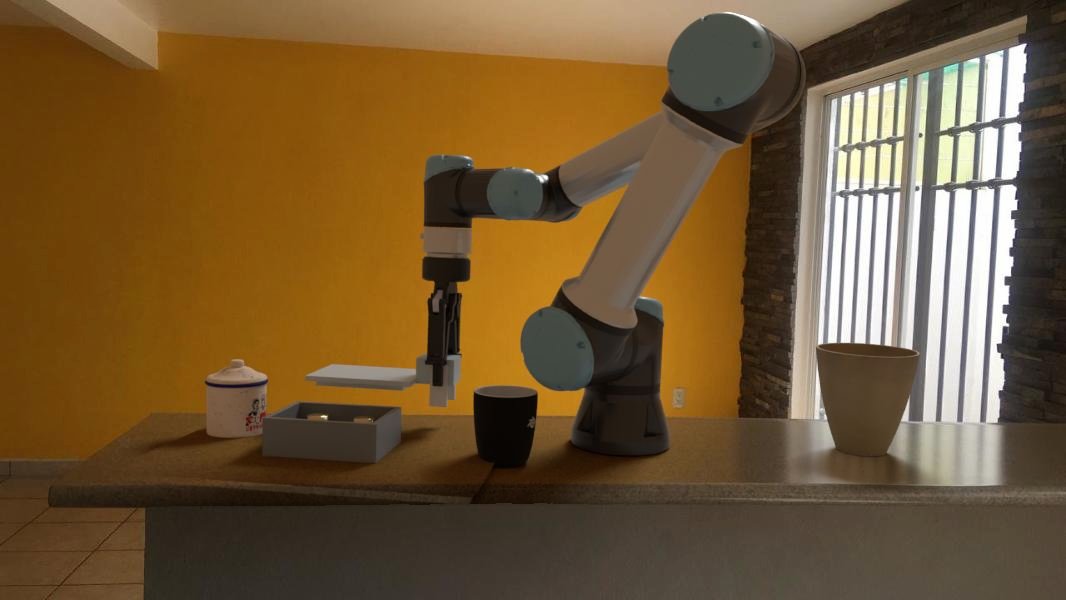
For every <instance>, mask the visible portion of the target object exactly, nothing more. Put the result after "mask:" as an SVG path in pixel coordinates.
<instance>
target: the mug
mask: <svg viewBox="0 0 1066 600" xmlns="http://www.w3.org/2000/svg"><path fill="white" fill-rule="evenodd" d="M472 397H473V401H472V403H473V408H472V409H473V410H472V411H473V423H474V424H473V428H474V438H475V445H476V450H477V454H478V457H479V459H480V460H483V461H485V462H488V463H493V465H492V468H497V467H498V468H497V469H499V468H500V469H502V468H503V469H510V468H512V469H513V468H518V467H522V466H524V465H526V464H527V462H528V460H529V459H530V455H531V452H532V447H533V444H534V439H535V438H534V437H535V432H536V426H537V425H536V424H537V415H538V399H539V394H538V391H537V390H536V389H534V388H531V387H527V386H520V385H512V384H511V385H508V384H507V385H505V384H502V385H500V384H499V385H498V384H497V385H494V384H493V385H485V386H479V387H476V388H475V389H474V390H473V396H472Z"/></svg>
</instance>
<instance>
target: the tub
mask: <svg viewBox="0 0 1066 600" xmlns="http://www.w3.org/2000/svg"><path fill="white" fill-rule="evenodd" d="M315 413H322V414H327V415H328V420H312V419H307V415H309V414H315ZM358 416H371V417H374V418H375V422H374V423H362V422H354V418H355V417H358ZM261 435H262V437H261V440H262V441H261V443H262V444H261V445H262V447H261V449H262V451H261V456H262V457H272V458H274V457H275V458H289V459H304V460H305V459H306V460H318V461H319V460H320V461H334V462H348V463H351V462H352V463H363V464H364V463H365V464H377V463H379V461H380V460H382V459H383V458H384V457H386V456H387V454H389V453H391V451H393V449H395V448H396V447H397V446H399V444H401V442H402V406H389V405H374V404H373V405H372V404H371V405H370V404H355V403H339V402H337V403H335V402H324V401H323V402H319V401H305V400H303V401H301V400H297V401H294V402H292V403H290V404H288V405H286V406H285V407H282V408H281V409H278V410H276V411H274V412H272V413H270V414H268V415H267V416H265V417H263V418H262V434H261Z"/></svg>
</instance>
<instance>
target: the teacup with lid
mask: <svg viewBox="0 0 1066 600" xmlns="http://www.w3.org/2000/svg"><path fill="white" fill-rule="evenodd" d="M229 365H230V366H225V367H223V368H222V369H220V370H219V371H218V372H214V373H211V374H208V376H206V378H205V380H204V384H205V385H206V434H207V435H208V436H210V437H215V438H223V439H224V438H226V439H227V438H228V439H229V438H230V439H232V438H234V439H235V438H247V437H253V436H258V435H262V418H263V417H265V416H267V410H268V409H267V408H268V407H267V405H268V404H267V401H268V400H267V399H268V398H267V396H268V395H267V393H268V392H267V391H268V390H267V389H268V388H267V386H268V385H267V384H268V383H269V379H268V376H267V375H266V374H265V373H262V372H258V371H256V370H254V369H253V368H251V367H249V366H246V365H245V361H244V359H238V358H237V359H231V360H230V361H229Z"/></svg>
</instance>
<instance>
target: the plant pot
mask: <svg viewBox="0 0 1066 600" xmlns="http://www.w3.org/2000/svg"><path fill="white" fill-rule="evenodd" d="M815 353H816V363H817V364H816V366H817V371H818V383H819V389H820V392H821V393H820V394H821V399H822V403H823V404H822V405H823V408H824V412H825V416H826V419H827V420H826V421H827V423H828V424H827V425H828V428H829V431H830V434H831V436H832V440H833V443H834V446H835V448H836V450H837V451H839V452H842V453H845V454H848V455H853V456H860V457H881V456H884V455H886V454H887V453H888V450H889V448H890V446H891V445H892V442H893V440H894V439H895V436H896V434H897V432H898V429H899V427H900V424H901V422H902V419H903V417H904V414H905V411H906V409H907V406H908V405H907V404H908V402H909V399H910V396H911V393H912V389H913V385H914V382H915V377H916V373H917V369H918V364H919V359H920V355H921V354H920V352H919V351H917V350H915V349H909V348H906V347H900V346H892V345H886V344H885V345H884V344H875V343H874V344H873V343H862V342H861V343H860V342H826V343H819V344H816V345H815Z"/></svg>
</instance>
